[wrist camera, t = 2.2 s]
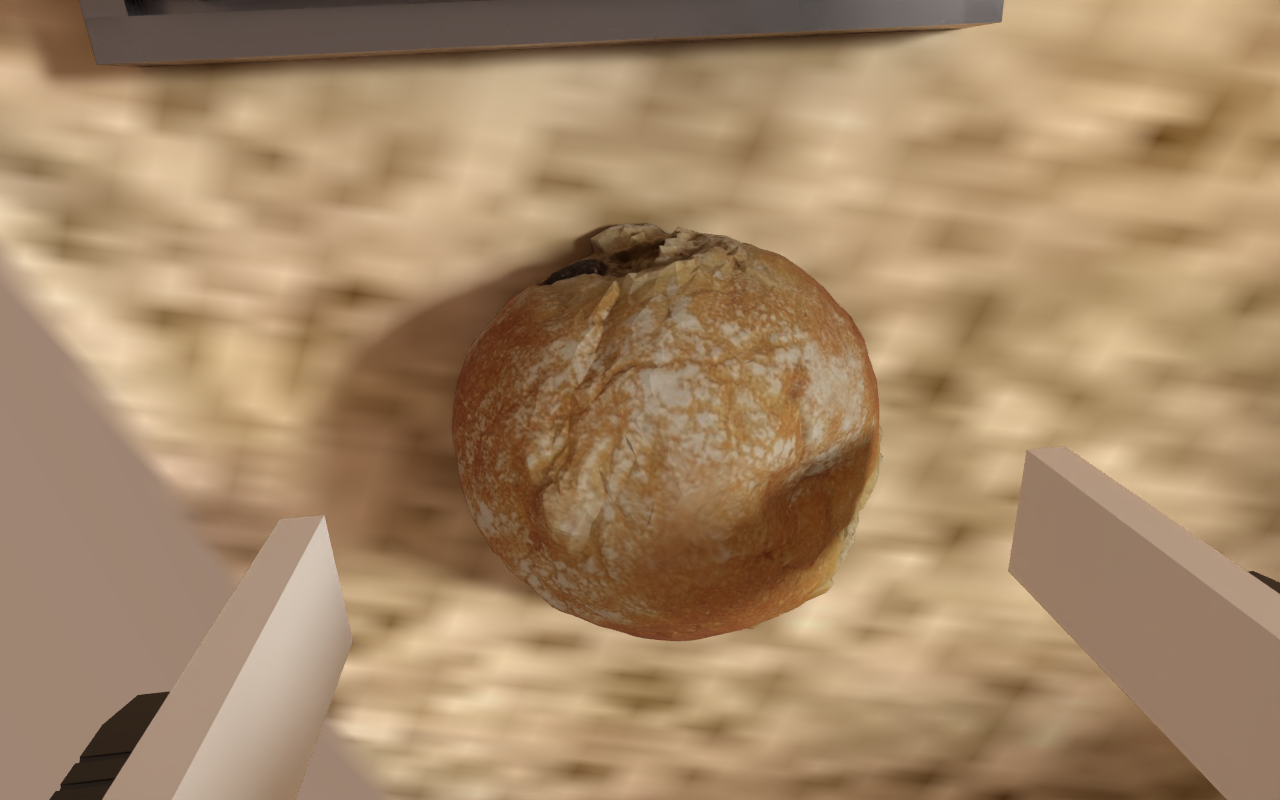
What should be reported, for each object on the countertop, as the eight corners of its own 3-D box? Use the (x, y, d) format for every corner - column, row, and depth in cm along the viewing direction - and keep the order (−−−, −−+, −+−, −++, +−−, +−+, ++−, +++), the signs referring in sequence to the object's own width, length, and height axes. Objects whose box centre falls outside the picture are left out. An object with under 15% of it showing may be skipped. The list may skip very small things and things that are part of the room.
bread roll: (753, 194, 22) (760, 74, 14) (933, 514, 21) (1047, 575, 14) (459, 362, 23) (313, 337, 15) (621, 672, 22) (556, 815, 15)
